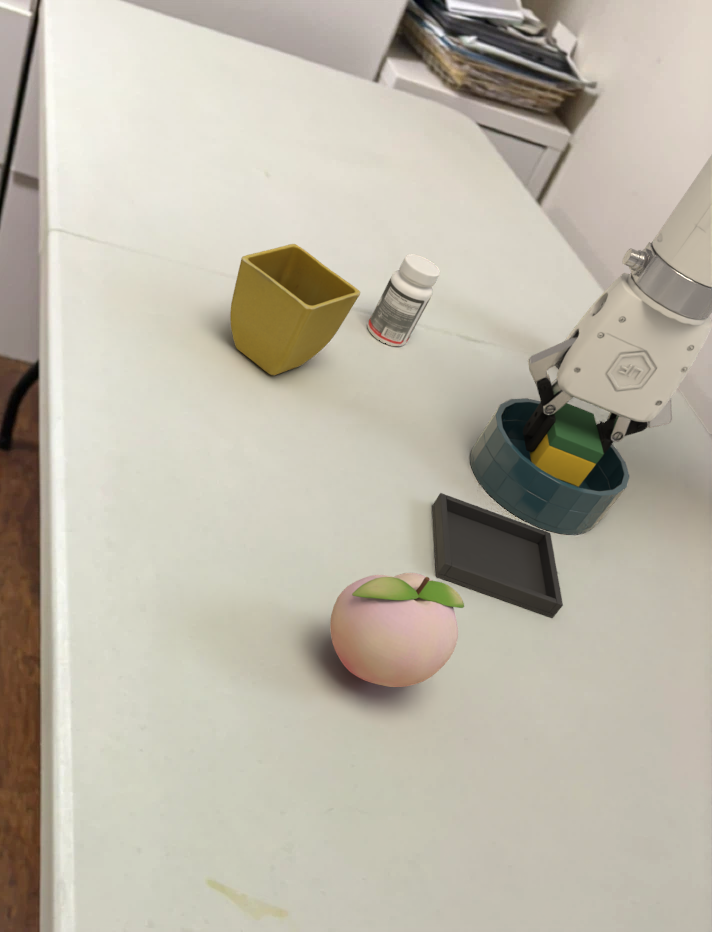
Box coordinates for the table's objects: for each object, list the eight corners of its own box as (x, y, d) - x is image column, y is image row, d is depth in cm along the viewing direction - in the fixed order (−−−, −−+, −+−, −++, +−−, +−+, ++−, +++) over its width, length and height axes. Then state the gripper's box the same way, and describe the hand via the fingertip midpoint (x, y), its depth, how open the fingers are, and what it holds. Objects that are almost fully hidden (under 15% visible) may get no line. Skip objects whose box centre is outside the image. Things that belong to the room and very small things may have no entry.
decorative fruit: (340, 725, 78) (406, 630, 71) (291, 640, 82) (348, 542, 75) (440, 711, 82) (511, 620, 75) (388, 631, 86) (451, 537, 79)
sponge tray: (540, 545, 102) (550, 532, 100) (552, 618, 95) (563, 605, 94) (431, 505, 100) (440, 492, 99) (435, 576, 93) (445, 563, 92)
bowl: (588, 468, 114) (617, 429, 111) (607, 552, 105) (640, 513, 101) (465, 421, 112) (491, 380, 109) (474, 503, 103) (502, 461, 99)
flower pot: (207, 340, 106) (240, 254, 99) (261, 323, 111) (295, 241, 105) (272, 393, 104) (310, 309, 97) (324, 373, 109) (363, 292, 103)
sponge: (569, 446, 109) (593, 413, 106) (578, 487, 104) (604, 454, 101) (525, 428, 108) (548, 395, 105) (532, 469, 103) (556, 435, 100)
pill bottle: (382, 318, 121) (418, 248, 115) (413, 343, 120) (451, 273, 114) (358, 325, 118) (393, 254, 112) (389, 351, 117) (427, 280, 111)
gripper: (594, 266, 89) (477, 445, 102) (773, 342, 91) (637, 507, 104) (582, 227, 94) (472, 402, 107) (752, 300, 96) (625, 462, 109)
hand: (555, 452), depth 105 cm, fingers closed on sponge, 5 cm apart
